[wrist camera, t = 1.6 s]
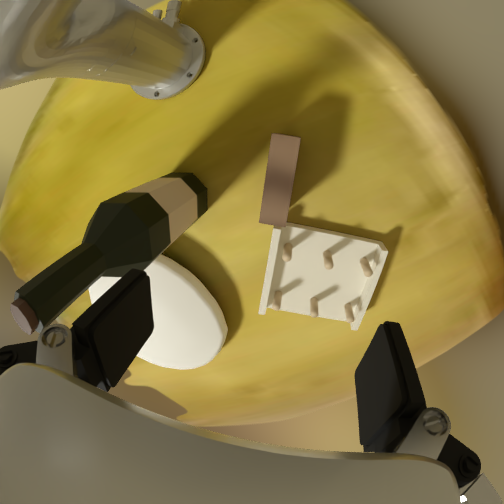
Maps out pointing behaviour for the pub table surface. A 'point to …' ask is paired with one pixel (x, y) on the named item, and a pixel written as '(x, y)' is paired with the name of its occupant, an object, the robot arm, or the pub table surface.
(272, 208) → the walnut board
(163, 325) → the plate
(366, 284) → the rack
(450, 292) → the pub table surface
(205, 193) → the wine bottle
